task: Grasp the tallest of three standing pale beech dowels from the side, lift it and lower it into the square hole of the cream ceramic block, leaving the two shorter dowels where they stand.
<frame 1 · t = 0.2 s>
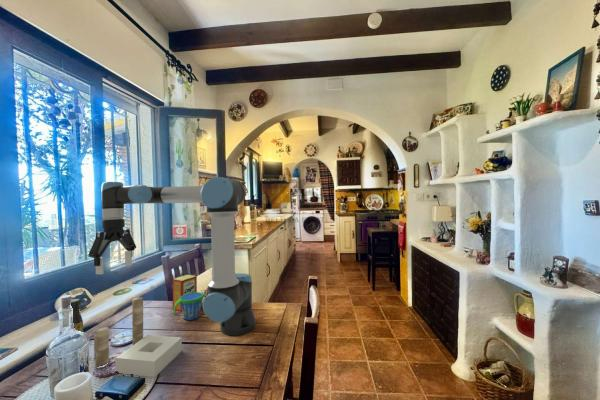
hand: (115, 269, 105), 27 cm above the table, tool pointing down, fingers open, 13 cm apart
baking soda box: (185, 307, 132), on the table
sauce bottle: (71, 356, 90), on the table
tall dowel: (137, 345, 97), on the table
short dowel: (100, 356, 90), on the table
snack cup: (191, 317, 120), on the table
hole block: (150, 361, 87), on the table
medium dowel: (102, 365, 85), on the table
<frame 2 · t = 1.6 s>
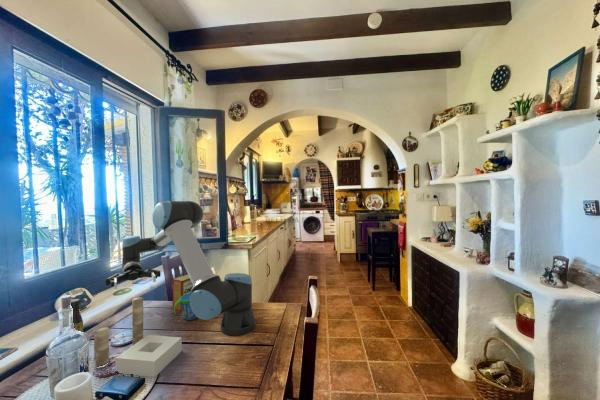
hand: (135, 282, 104), 22 cm above the table, tool horizontal, fingers open, 13 cm apart
nothing on the table moved.
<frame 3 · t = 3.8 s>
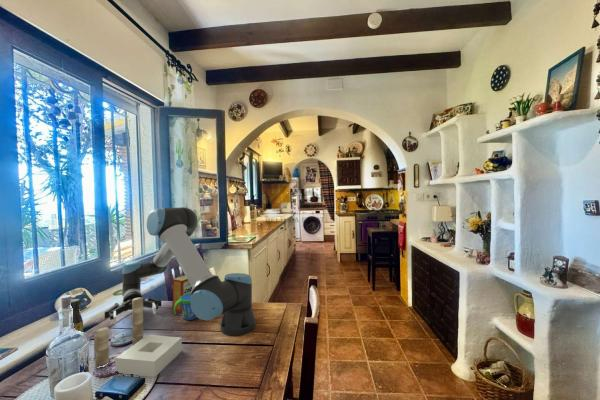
hand: (135, 315, 101), 10 cm above the table, tool horizontal, fingers open, 13 cm apart
nothing on the table moved.
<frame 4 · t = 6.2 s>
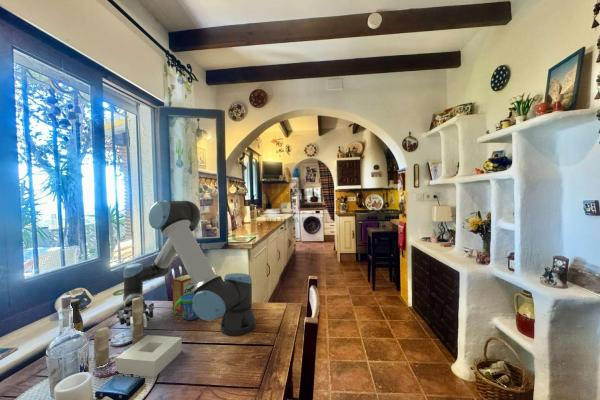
hand: (139, 325, 92), 10 cm above the table, tool horizontal, fingers closed on tall dowel, 3 cm apart
tall dowel: (137, 345, 97), on the table, touching gripper
everything else where it was.
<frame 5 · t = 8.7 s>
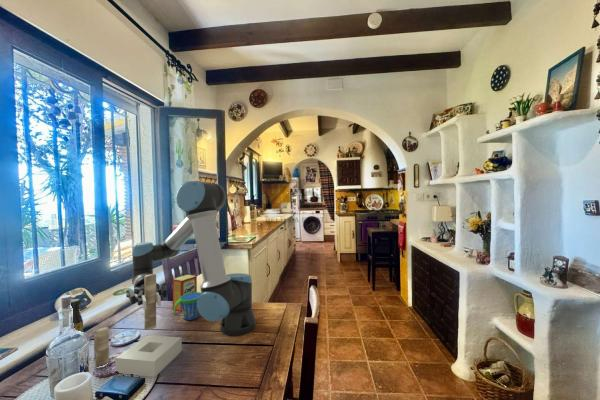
hand: (152, 303, 83), 22 cm above the table, tool horizontal, fingers closed on tall dowel, 3 cm apart
tall dowel: (150, 327, 87), point 12 cm above the table, touching gripper
everything else where it was.
when the fingers open (11 cm above the table, at t = 11.2 s): tall dowel drops 1 cm, resting in hole block.
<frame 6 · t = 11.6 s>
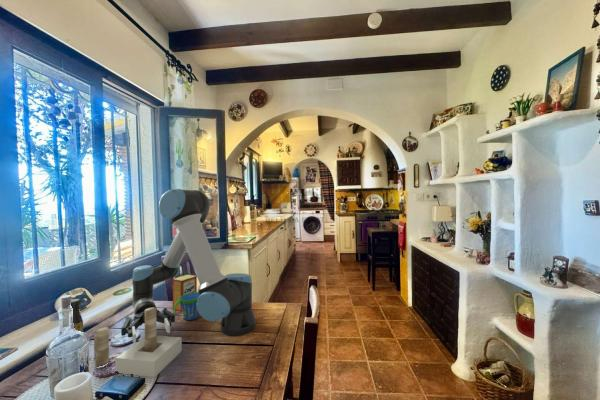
hand: (152, 333, 83), 12 cm above the table, tool horizontal, fingers open, 9 cm apart
tall dowel: (150, 361, 87), resting in hole block
everything else where it was.
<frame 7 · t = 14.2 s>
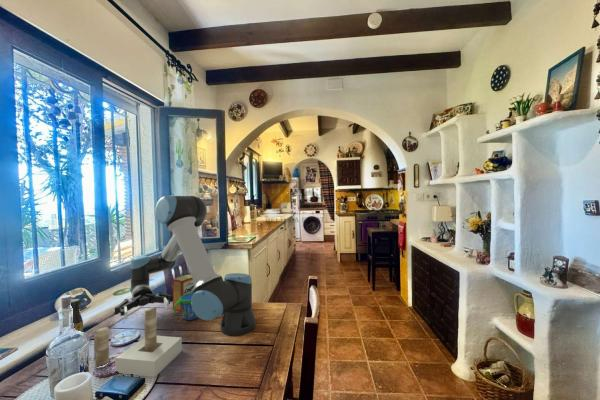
hand: (147, 310, 96), 14 cm above the table, tool horizontal, fingers open, 13 cm apart
nothing on the table moved.
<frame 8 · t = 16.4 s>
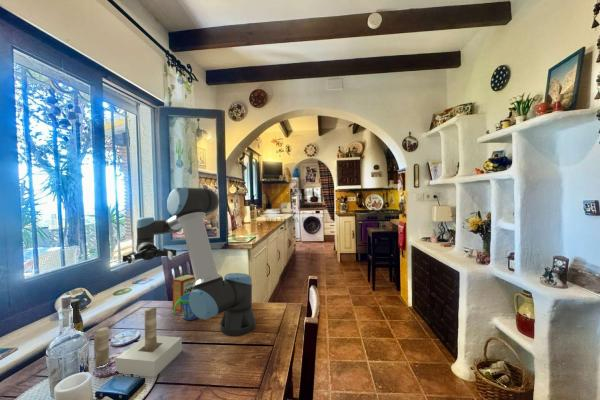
hand: (153, 258, 103), 32 cm above the table, tool horizontal, fingers open, 13 cm apart
nothing on the table moved.
at the end: tall dowel 0.0 cm off-centre on the hole block, point 0.0 cm above the hole block's base; tall dowel tilted 0°; the gripper is holding nothing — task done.
